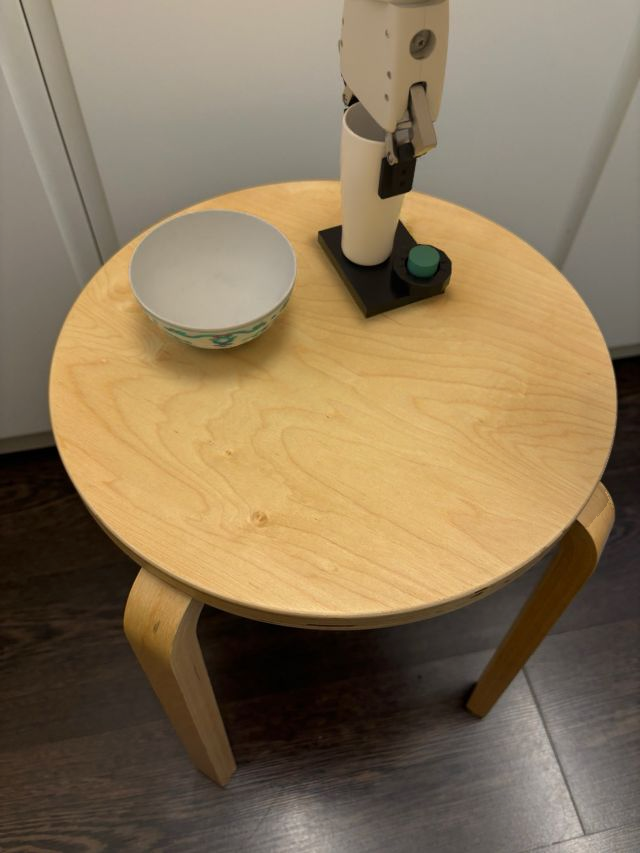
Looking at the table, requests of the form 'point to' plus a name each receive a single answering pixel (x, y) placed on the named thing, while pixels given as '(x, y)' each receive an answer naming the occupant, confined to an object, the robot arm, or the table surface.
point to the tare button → (423, 261)
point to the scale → (385, 274)
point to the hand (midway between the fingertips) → (375, 167)
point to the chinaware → (213, 276)
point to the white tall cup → (366, 189)
